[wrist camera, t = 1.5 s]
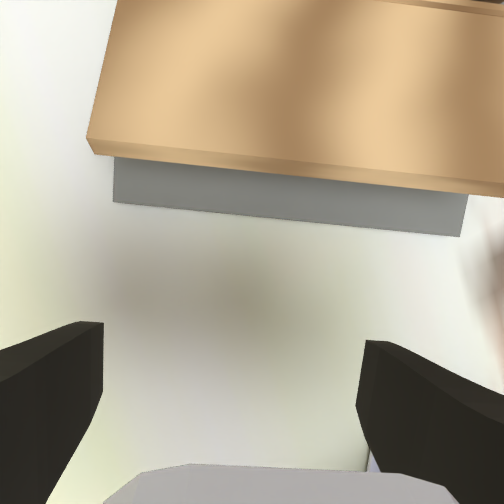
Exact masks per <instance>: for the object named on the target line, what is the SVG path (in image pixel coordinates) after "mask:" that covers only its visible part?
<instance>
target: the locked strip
mask: <svg viewBox="0 0 504 504" xmlns="http://www.w3.org/2000/svg"><path fill="white" fill-rule="evenodd" d="M472 1H479V2H487V3H495V4H501V3H502V2H504V0H472Z"/></svg>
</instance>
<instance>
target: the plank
mask: <svg viewBox="0 0 504 504" xmlns="http://www.w3.org/2000/svg"><path fill="white" fill-rule="evenodd" d="M86 139H87V141H88V143H89V145H90V147H91V148H92V150H93V152H94V154H97V155H106V156H115V157H125V158H134V159H143V160H153V161H162V162H172V163H181V164H190V165H200V166H209V167H218V168H228V169H237V170H247V171H256V172H265V173H275V174H284V175H293V176H303V177H312V178H322V179H331V180H340V181H350V182H359V183H368V184H378V185H387V186H397V187H406V188H415V189H425V190H434V191H443V192H453V193H462V194H471V195H481V196H490V197H500V198H504V5H502V4H495V3H487V2H479V1H472V0H118V1H117V5H116V9H115V14H114V18H113V22H112V27H111V31H110V35H109V40H108V44H107V48H106V53H105V57H104V61H103V66H102V70H101V74H100V79H99V83H98V87H97V92H96V96H95V100H94V105H93V109H92V113H91V118H90V122H89V126H88V131H87V135H86Z"/></svg>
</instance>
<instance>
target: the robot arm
mask: <svg viewBox="0 0 504 504" xmlns="http://www.w3.org/2000/svg"><path fill="white" fill-rule="evenodd" d="M103 337H104V323H100V322H85V321H79V322H75V323H71V324H68V325H65V326H62V327H60V328H57V329H55V330H52V331H50V332H47V333H45V334H42V335H39V336H37V337H34V338H32V339H29V340H27V341H24V342H22V343H19V344H16V345H13V346H11V347H8V348H5V349H2V350H0V504H46V502H47V500H48V498H49V496H50V494H51V493H52V491H53V489H54V487H55V485H56V484H57V482H58V480H59V478H60V477H61V475H62V473H63V471H64V470H65V468H66V466H67V464H68V463H69V461H70V459H71V457H72V456H73V454H74V452H75V450H76V449H77V447H78V445H79V443H80V441H81V440H82V438H83V436H84V434H85V433H86V431H87V429H88V427H89V425H90V423H91V421H92V418H93V416H94V414H95V411H96V409H97V406H98V403H99V401H100V398H101V395H102V392H103ZM356 409H357V413H358V417H359V420H360V424H361V427H362V430H363V433H364V436H365V439H366V441H367V443H368V446H369V448H370V456H369V461H368V466H367V472H357V471H335V470H314V469H292V468H271V467H249V466H227V465H206V464H187V465H182V466H176V467H170V468H165V469H159V470H154V471H148V472H143V473H140V474H139V475H137V476H136V477H135V478H134V479H132V480H131V481H130V482H128V483H127V484H126V485H125V486H123V487H122V488H121V489H119V490H118V491H117V492H116V493H114V494H113V495H112V496H110V497H109V498H108V499H107V500H105V501H104V502H103V504H504V395H502V394H499V393H497V392H494V391H492V390H490V389H487V388H485V387H483V386H481V385H478V384H476V383H474V382H472V381H470V380H468V379H465V378H463V377H461V376H459V375H457V374H455V373H453V372H451V371H449V370H447V369H445V368H443V367H441V366H439V365H437V364H435V363H433V362H431V361H429V360H427V359H425V358H424V357H422V356H420V355H418V354H416V353H414V352H412V351H410V350H408V349H406V348H403V347H401V346H399V345H397V344H394V343H391V342H388V341H373V340H366V343H365V349H364V356H363V362H362V368H361V374H360V381H359V387H358V393H357V399H356Z"/></svg>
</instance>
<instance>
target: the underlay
mask: <svg viewBox="0 0 504 504" xmlns="http://www.w3.org/2000/svg"><path fill="white" fill-rule="evenodd" d="M501 4H502V5H504V2H502V3H501ZM468 195H469V194H462V193H453V192H443V191H434V190H425V189H415V188H406V187H397V186H387V185H378V184H368V183H359V182H350V181H340V180H331V179H322V178H312V177H303V176H293V175H284V174H275V173H265V172H256V171H247V170H237V169H228V168H218V167H209V166H200V165H190V164H181V163H172V162H162V161H153V160H143V159H134V158H125V157H115V158H114V185H113V202H118V203H128V204H138V205H148V206H157V207H167V208H177V209H187V210H197V211H207V212H217V213H227V214H236V215H246V216H256V217H266V218H276V219H286V220H296V221H306V222H315V223H325V224H335V225H345V226H355V227H365V228H375V229H385V230H394V231H404V232H414V233H424V234H434V235H444V236H454V237H460V233H461V228H462V223H463V219H464V214H465V209H466V204H467V200H468Z"/></svg>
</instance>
